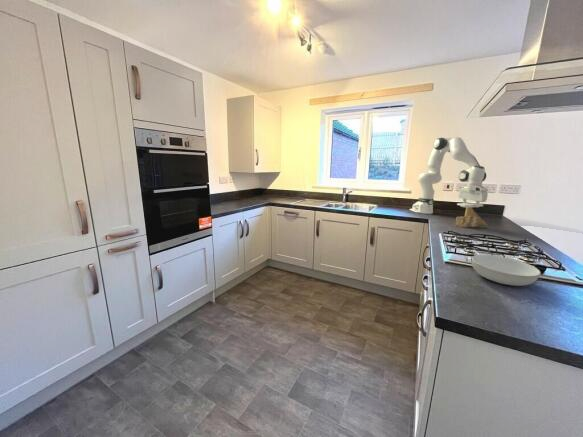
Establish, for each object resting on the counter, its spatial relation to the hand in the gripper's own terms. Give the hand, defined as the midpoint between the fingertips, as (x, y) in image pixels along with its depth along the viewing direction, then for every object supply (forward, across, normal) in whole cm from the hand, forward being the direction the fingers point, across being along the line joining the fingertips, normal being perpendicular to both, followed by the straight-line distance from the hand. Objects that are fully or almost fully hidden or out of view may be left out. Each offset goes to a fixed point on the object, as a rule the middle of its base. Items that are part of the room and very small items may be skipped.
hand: (469, 205), depth 182 cm
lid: (0, 0, 0) cm, 0 cm away
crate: (+16, +1, 0) cm, 16 cm away
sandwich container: (+16, -6, +16) cm, 24 cm away
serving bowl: (+15, +77, -70) cm, 105 cm away
